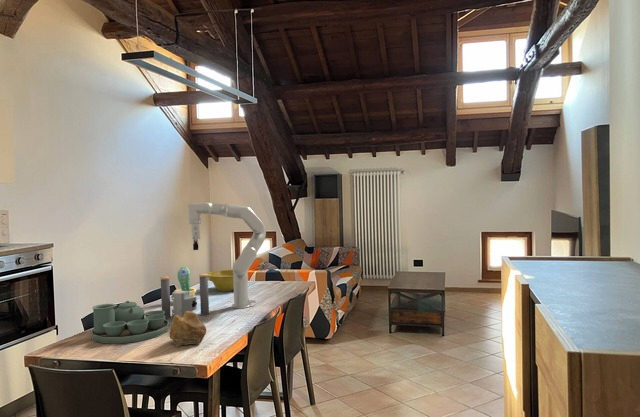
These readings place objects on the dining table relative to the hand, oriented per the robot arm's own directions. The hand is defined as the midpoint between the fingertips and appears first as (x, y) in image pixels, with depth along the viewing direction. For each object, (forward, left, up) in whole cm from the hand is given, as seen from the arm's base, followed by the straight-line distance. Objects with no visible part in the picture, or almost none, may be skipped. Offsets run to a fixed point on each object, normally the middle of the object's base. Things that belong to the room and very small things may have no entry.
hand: (195, 249), depth 308 cm
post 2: (-3, +16, -39) cm, 42 cm away
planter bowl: (-26, -60, -39) cm, 76 cm away
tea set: (+37, +42, -40) cm, 69 cm away
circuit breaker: (+8, +16, -39) cm, 43 cm away
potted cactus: (+7, -28, -39) cm, 49 cm away
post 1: (+20, +16, -39) cm, 47 cm away
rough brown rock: (+7, +73, -39) cm, 84 cm away
